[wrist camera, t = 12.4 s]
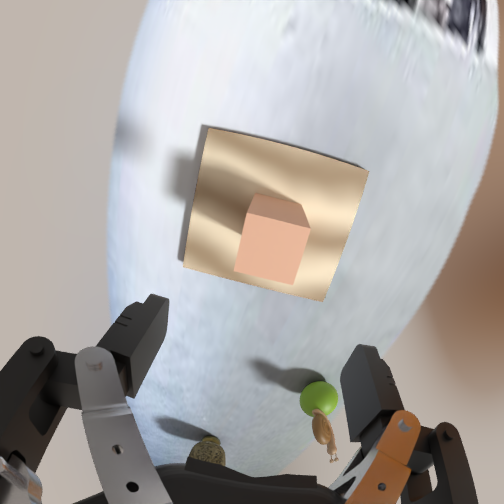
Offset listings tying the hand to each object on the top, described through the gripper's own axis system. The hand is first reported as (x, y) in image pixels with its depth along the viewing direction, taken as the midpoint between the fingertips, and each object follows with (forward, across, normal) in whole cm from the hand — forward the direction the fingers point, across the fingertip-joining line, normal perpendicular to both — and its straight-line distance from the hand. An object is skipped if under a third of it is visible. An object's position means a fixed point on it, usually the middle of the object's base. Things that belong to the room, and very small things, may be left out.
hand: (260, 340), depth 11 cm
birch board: (+19, 0, 0) cm, 19 cm away
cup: (+19, 0, +45) cm, 48 cm away
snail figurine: (+19, -14, +23) cm, 33 cm away
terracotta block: (+18, 0, 0) cm, 18 cm away
